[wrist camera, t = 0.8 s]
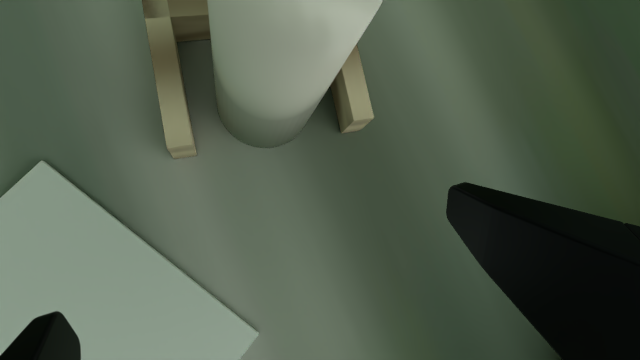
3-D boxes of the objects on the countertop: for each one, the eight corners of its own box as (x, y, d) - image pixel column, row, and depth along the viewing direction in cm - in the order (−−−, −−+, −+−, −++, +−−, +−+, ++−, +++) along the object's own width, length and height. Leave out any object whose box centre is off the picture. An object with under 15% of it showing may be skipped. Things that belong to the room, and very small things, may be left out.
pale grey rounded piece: (317, 140, 23) (406, 36, 11) (226, 154, 22) (221, 52, 10) (291, 21, 24) (349, -188, 12) (202, 28, 22) (173, -201, 11)
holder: (359, 130, 24) (374, 117, 21) (174, 159, 21) (166, 148, 18) (332, 10, 25) (343, -15, 22) (150, 23, 22) (140, -5, 19)
